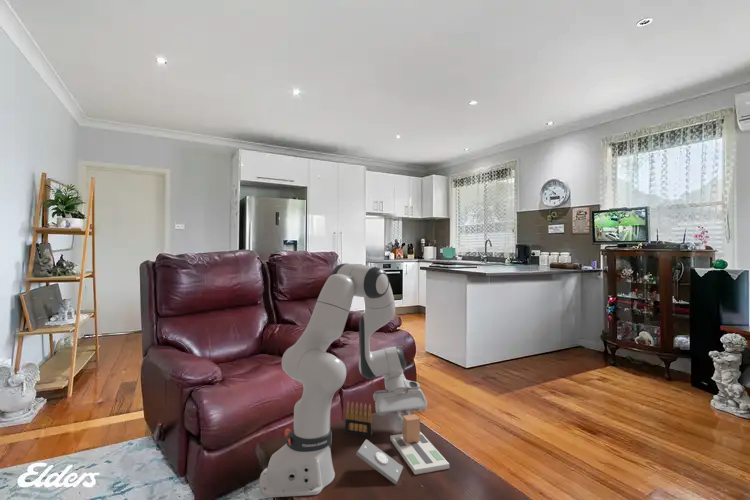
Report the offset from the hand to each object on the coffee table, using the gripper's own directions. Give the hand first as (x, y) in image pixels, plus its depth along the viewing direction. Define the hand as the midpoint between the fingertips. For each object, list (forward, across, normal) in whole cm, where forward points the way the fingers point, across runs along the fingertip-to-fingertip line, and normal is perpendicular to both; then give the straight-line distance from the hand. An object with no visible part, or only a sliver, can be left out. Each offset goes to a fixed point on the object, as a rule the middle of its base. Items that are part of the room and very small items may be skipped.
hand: (406, 424), depth 141 cm
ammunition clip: (-2, -16, +10) cm, 19 cm away
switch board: (+11, 0, -4) cm, 12 cm away
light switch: (+17, -16, -9) cm, 25 cm away
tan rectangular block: (+6, 0, -1) cm, 6 cm away
